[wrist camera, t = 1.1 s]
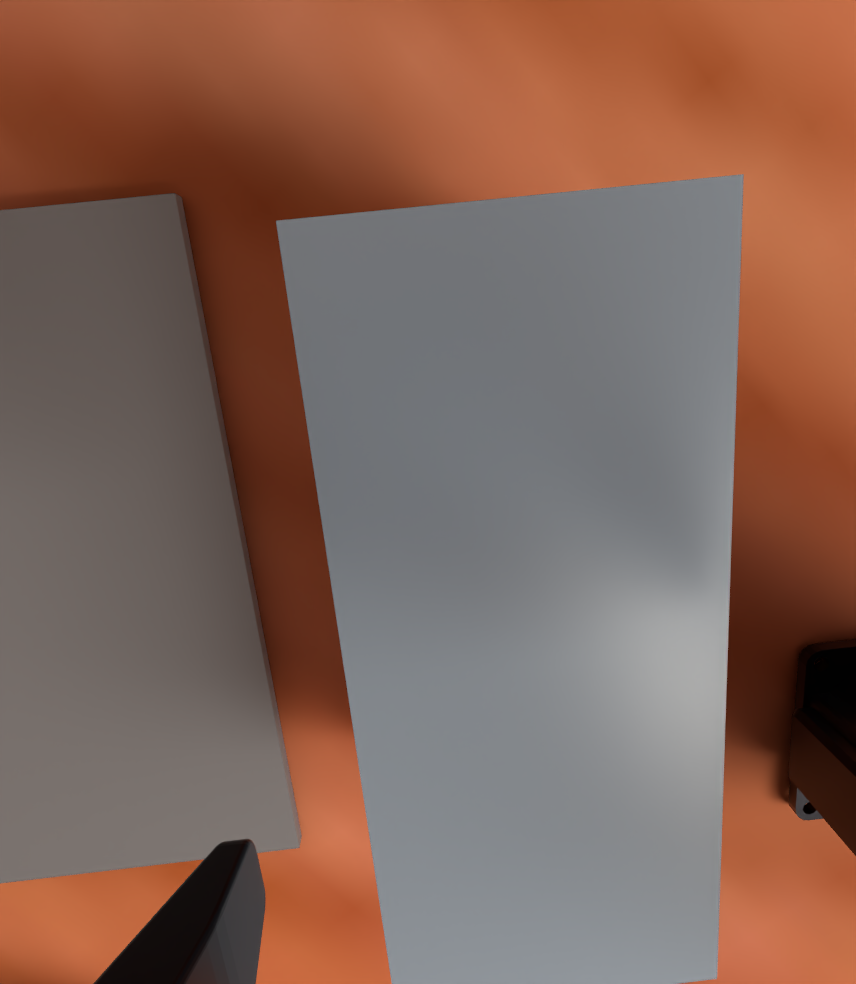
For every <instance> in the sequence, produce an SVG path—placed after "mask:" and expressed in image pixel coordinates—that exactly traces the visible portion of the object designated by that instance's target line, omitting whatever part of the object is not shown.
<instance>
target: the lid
mask: <svg viewBox="0 0 856 984" xmlns="http://www.w3.org/2000/svg"><path fill="white" fill-rule="evenodd" d="M743 176H744V174H742V175H732V176H722V177H712V178H702V179H692V180H682V181H672V182H661V183H651V184H641V185H631V186H621V187H611V188H601V189H591V190H581V191H571V192H561V193H551V194H541V195H530V196H520V197H510V198H500V199H490V200H480V201H470V202H460V203H450V204H440V205H430V206H420V207H410V208H399V209H389V210H379V211H369V212H359V213H349V214H339V215H329V216H319V217H309V218H299V219H289V220H279V221H276V225H277V232H278V238H279V245H280V251H281V258H282V265H283V271H284V278H285V284H286V291H287V297H288V304H289V311H290V317H291V324H292V330H293V337H294V343H295V350H296V357H297V363H298V370H299V376H300V383H301V389H302V396H303V403H304V409H305V416H306V422H307V429H308V435H309V442H310V449H311V455H312V462H313V468H314V475H315V481H316V488H317V495H318V501H319V508H320V514H321V521H322V527H323V534H324V541H325V547H326V554H327V560H328V567H329V573H330V580H331V587H332V593H333V600H334V606H335V613H336V619H337V626H338V633H339V639H340V646H341V652H342V659H343V665H344V672H345V679H346V685H347V692H348V698H349V705H350V712H351V718H352V725H353V731H354V738H355V744H356V751H357V758H358V764H359V771H360V777H361V784H362V790H363V797H364V804H365V810H366V817H367V823H368V830H369V836H370V843H371V850H372V856H373V863H374V869H375V876H376V882H377V889H378V896H379V902H380V909H381V915H382V922H383V928H384V935H385V942H386V948H387V955H388V961H389V968H390V974H391V981H392V984H678V983H686V982H694V981H702V980H711V979H717V962H718V932H719V902H720V872H721V841H722V811H723V781H724V751H725V720H726V690H727V660H728V630H729V599H730V569H731V539H732V509H733V478H734V448H735V418H736V388H737V357H738V327H739V297H740V267H741V236H742V206H743Z"/></svg>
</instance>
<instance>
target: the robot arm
mask: <svg viewBox="0 0 856 984" xmlns="http://www.w3.org/2000/svg"><path fill="white" fill-rule="evenodd" d="M818 658H821V659H820V661H819V662H818V663H817V664H814V662H815V661H816V660H817V659H818ZM788 776H789V779H790V787H789V806H790V807H791V808H792V809H793V811H794V812H795V813H796V814H797V816H798V817H799V818H801V819H803V820H815V819H823V818H824V819H825V821H826V822H827V823H828V824H829V825H830V826H831V828H832V829H833V830H834V831H835V832H836V833H837V835H838V836H839V837H840V838H841V839H842V840H843V842H844V843H845V844H846V845H847V846H848V847H849V849H850V850H851V851H852V852H853V853H854V854H855V855H856V639H852V640H844V641H835V642H826V643H817V644H812V645H809V646H807V647H806V648H804V649H803V650H802V651H801V653H800V654H799V658H798V668H797V683H796V698H795V711H794V714H793V716H792V727H791V742H790V757H789V772H788ZM806 803H807V804H806ZM264 913H265V888H264V883H263V878H262V874H261V869H260V865H259V860H258V856H257V851H256V847H255V845H254V843H253V841H252V840H250V839H240V840H232V841H224V842H221V843H220V844H218V845H217V846H216V847H215V848H214V849H213V850H212V851H211V852H210V854H209V855H208V856H207V857H206V858H205V859H204V860H203V861H202V863H201V864H200V865H199V866H198V867H197V868H196V869H195V870H194V872H193V873H192V874H191V875H190V876H189V877H188V878H187V879H186V881H185V882H184V883H183V884H182V885H181V886H180V887H179V888H178V889H177V891H176V892H175V893H174V894H173V895H172V896H171V897H170V898H169V900H168V901H167V902H166V903H165V904H164V905H163V906H162V907H161V909H160V910H159V911H158V912H157V913H156V914H155V915H154V916H153V917H152V919H151V920H150V921H149V922H148V923H147V924H146V925H145V926H144V928H143V929H142V930H141V931H140V932H139V933H138V934H137V935H136V937H135V938H134V939H133V940H132V941H131V942H130V943H129V944H128V946H127V947H126V948H125V949H124V950H123V951H122V952H121V953H120V954H119V956H118V957H117V958H116V959H115V960H114V961H113V962H112V963H111V965H110V966H109V967H108V968H107V969H106V970H105V971H104V972H103V974H102V975H101V976H100V977H99V978H98V979H97V980H96V981H95V982H94V984H256V976H257V968H258V960H259V952H260V945H261V937H262V929H263V921H264Z"/></svg>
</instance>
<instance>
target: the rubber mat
mask: <svg viewBox="0 0 856 984" xmlns="http://www.w3.org/2000/svg"><path fill="white" fill-rule="evenodd" d="M240 839H250V840H252V841H253V843H254V845H255V847H256V851H257V853H261V852H269V851H278V850H286V849H294V848H299V847H300V842H301V830H300V825H299V820H298V814H297V809H296V804H295V798H294V793H293V788H292V782H291V777H290V772H289V766H288V761H287V756H286V750H285V745H284V740H283V734H282V729H281V724H280V718H279V713H278V708H277V702H276V697H275V692H274V686H273V681H272V676H271V670H270V665H269V660H268V654H267V649H266V644H265V638H264V633H263V628H262V623H261V617H260V612H259V607H258V601H257V596H256V591H255V585H254V580H253V575H252V569H251V564H250V559H249V553H248V548H247V543H246V537H245V532H244V527H243V521H242V516H241V511H240V505H239V500H238V495H237V489H236V484H235V479H234V473H233V468H232V463H231V457H230V452H229V447H228V441H227V436H226V431H225V425H224V420H223V415H222V410H221V404H220V399H219V394H218V388H217V383H216V378H215V372H214V367H213V362H212V356H211V351H210V346H209V340H208V335H207V330H206V324H205V319H204V314H203V308H202V303H201V298H200V292H199V287H198V282H197V276H196V271H195V266H194V260H193V255H192V250H191V244H190V239H189V234H188V228H187V223H186V218H185V212H184V207H183V202H182V197H181V196H179V195H177V194H175V193H171V194H161V195H151V196H141V197H131V198H120V199H110V200H100V201H90V202H80V203H69V204H59V205H49V206H39V207H29V208H18V209H8V210H0V883H7V882H16V881H24V880H33V879H41V878H49V877H58V876H66V875H75V874H83V873H92V872H100V871H109V870H117V869H125V868H134V867H142V866H151V865H159V864H168V863H176V862H185V861H193V860H201V859H205V858H206V857H207V856H208V855H209V854H210V852H211V851H212V850H213V849H214V848H215V847H216V846H217V845H218V844H220V843H221V842H224V841H232V840H240Z"/></svg>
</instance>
